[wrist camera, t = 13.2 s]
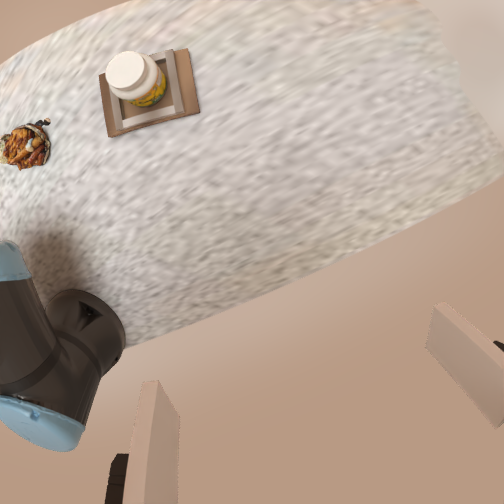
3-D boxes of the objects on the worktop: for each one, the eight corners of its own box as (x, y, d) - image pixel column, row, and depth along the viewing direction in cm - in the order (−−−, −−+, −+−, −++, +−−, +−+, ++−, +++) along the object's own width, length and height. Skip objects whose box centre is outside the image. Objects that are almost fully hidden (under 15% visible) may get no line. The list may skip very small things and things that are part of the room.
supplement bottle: (167, 66, 29) (153, 40, 20) (167, 105, 31) (152, 89, 22) (126, 72, 28) (100, 50, 19) (126, 111, 30) (98, 99, 21)
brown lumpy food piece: (-2, 135, 28) (-14, 136, 25) (51, 116, 30) (39, 114, 26) (1, 177, 31) (-12, 180, 28) (53, 162, 32) (41, 164, 29)
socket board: (112, 137, 32) (103, 136, 29) (102, 77, 29) (94, 72, 26) (199, 112, 33) (198, 109, 30) (188, 51, 30) (186, 44, 27)
